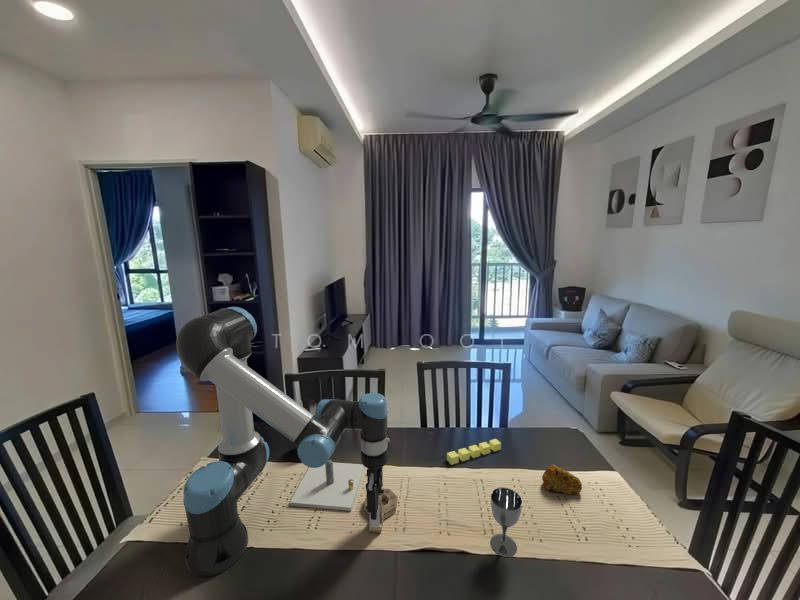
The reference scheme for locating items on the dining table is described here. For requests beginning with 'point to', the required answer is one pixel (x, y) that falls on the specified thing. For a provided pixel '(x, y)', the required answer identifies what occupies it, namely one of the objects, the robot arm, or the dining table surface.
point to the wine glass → (505, 519)
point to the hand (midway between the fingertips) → (375, 519)
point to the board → (329, 486)
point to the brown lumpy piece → (561, 480)
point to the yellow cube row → (473, 451)
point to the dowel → (350, 484)
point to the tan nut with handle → (383, 508)
